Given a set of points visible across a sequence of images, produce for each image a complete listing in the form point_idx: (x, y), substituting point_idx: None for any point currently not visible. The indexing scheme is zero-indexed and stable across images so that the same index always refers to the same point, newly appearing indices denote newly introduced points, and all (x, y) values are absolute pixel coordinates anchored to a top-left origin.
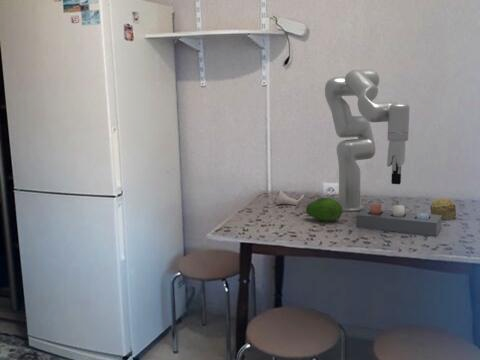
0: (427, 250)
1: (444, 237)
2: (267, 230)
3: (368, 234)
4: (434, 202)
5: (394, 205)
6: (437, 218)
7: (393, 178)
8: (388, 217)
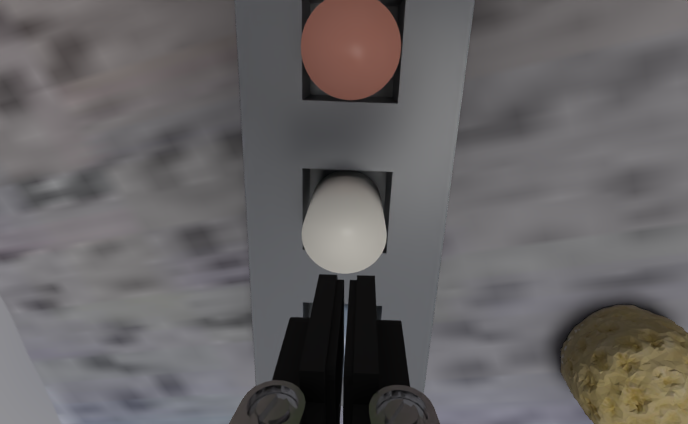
0: (68, 345)
1: None
2: None
3: (146, 64)
4: (647, 379)
5: (363, 203)
6: None
7: (281, 347)
8: (261, 166)
